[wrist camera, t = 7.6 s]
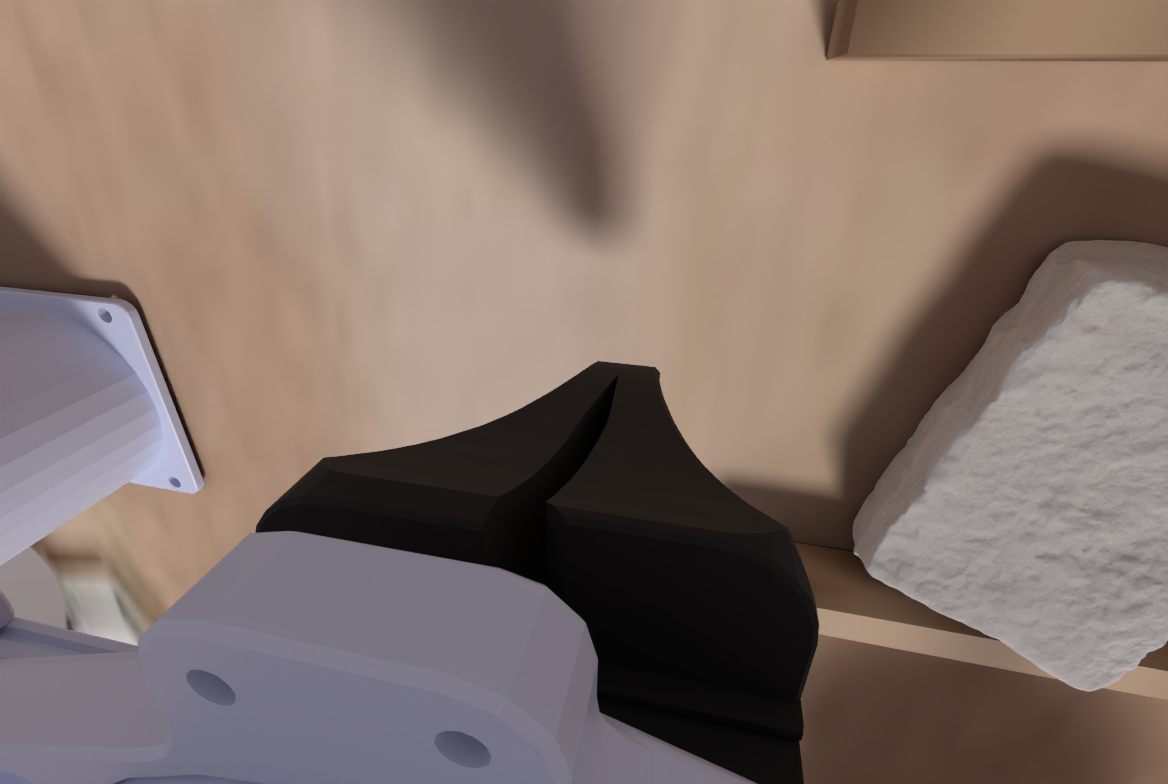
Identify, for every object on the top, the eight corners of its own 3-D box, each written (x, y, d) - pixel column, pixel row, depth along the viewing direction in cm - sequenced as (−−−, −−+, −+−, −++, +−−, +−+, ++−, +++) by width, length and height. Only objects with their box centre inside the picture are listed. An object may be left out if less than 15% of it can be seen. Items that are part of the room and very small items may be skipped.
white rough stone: (1019, 230, 15) (1131, 170, 10) (1291, 328, 14) (1601, 317, 8) (835, 524, 18) (848, 601, 12) (1047, 642, 16) (1167, 790, 11)
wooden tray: (733, 556, 18) (733, 632, 16) (836, 2, 11) (867, -24, 9) (1183, 632, 16) (1269, 736, 13) (1679, -11, 9) (2067, -51, 6)
